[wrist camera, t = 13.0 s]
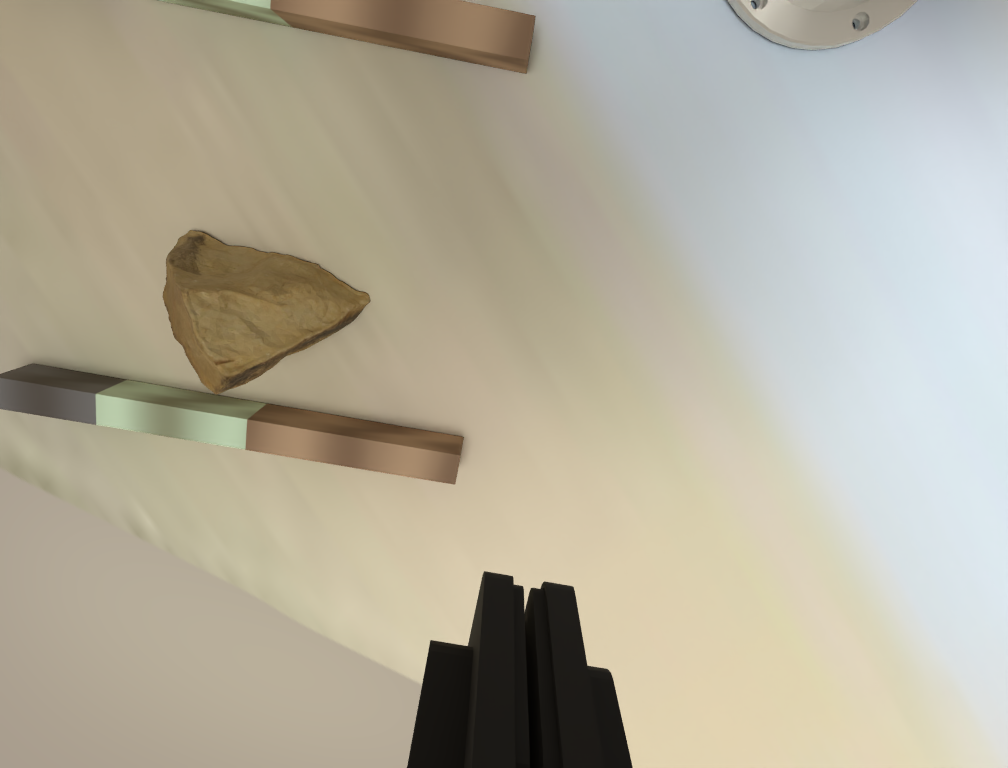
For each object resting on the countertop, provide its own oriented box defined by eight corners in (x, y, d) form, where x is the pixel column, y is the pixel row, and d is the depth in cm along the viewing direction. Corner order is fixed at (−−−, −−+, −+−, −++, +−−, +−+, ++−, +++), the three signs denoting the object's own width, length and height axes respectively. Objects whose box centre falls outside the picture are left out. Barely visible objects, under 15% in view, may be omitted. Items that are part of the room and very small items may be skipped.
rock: (109, 278, 33) (216, 418, 34) (75, 209, 26) (214, 392, 27) (275, 202, 38) (365, 326, 39) (287, 125, 31) (399, 282, 32)
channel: (532, 33, 32) (535, 16, 29) (459, 464, 39) (454, 484, 36) (8, -73, 30) (-44, -102, 28) (34, 392, 38) (-6, 408, 35)
